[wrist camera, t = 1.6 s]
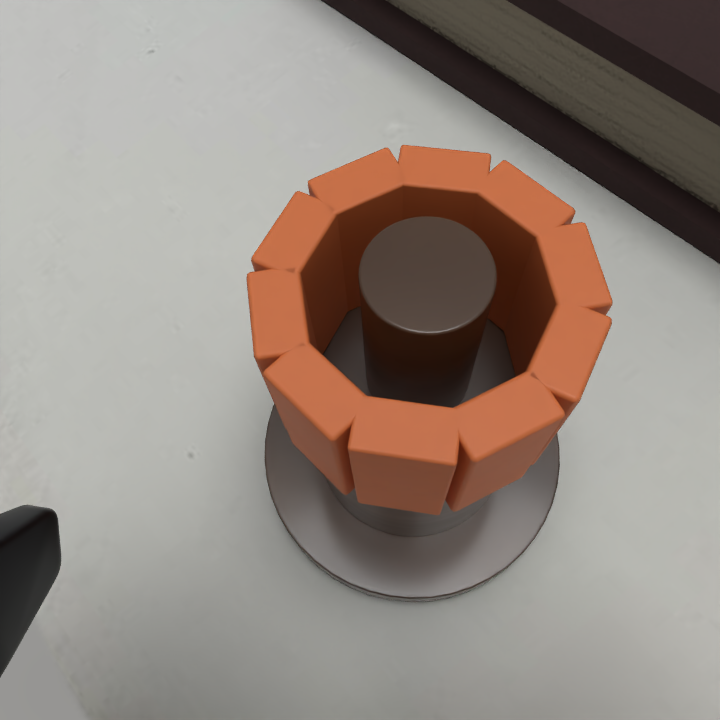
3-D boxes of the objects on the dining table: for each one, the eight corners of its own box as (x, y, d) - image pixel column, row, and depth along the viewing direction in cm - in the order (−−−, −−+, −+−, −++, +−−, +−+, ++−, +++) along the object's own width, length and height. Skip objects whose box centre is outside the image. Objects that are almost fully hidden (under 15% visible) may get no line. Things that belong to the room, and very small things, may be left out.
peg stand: (544, 626, 20) (708, 584, 10) (240, 574, 21) (99, 487, 11) (559, 345, 23) (689, 101, 13) (299, 312, 24) (236, 59, 14)
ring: (554, 534, 14) (611, 488, 11) (249, 486, 15) (204, 428, 11) (567, 273, 17) (616, 165, 13) (305, 242, 18) (284, 131, 14)
